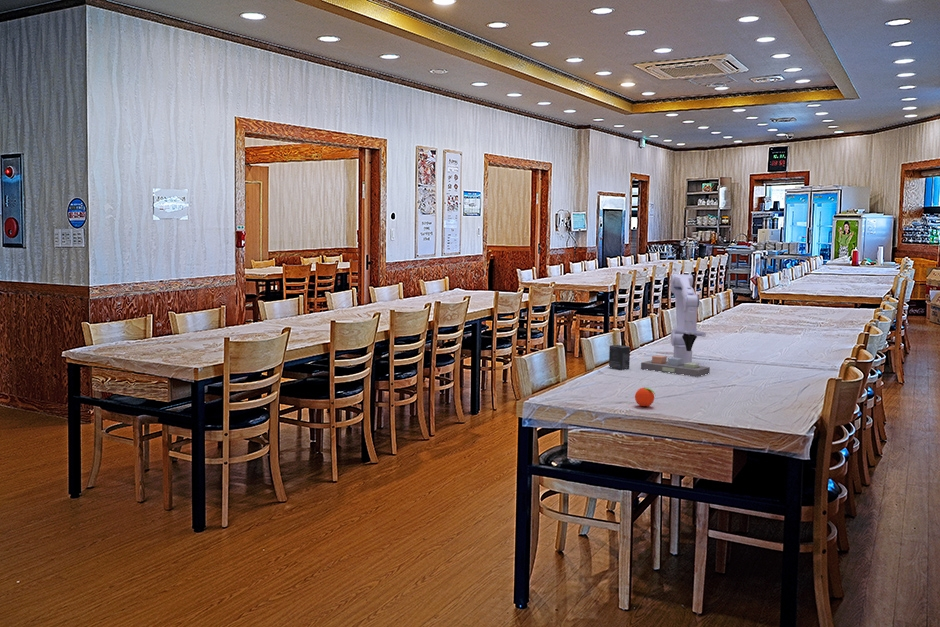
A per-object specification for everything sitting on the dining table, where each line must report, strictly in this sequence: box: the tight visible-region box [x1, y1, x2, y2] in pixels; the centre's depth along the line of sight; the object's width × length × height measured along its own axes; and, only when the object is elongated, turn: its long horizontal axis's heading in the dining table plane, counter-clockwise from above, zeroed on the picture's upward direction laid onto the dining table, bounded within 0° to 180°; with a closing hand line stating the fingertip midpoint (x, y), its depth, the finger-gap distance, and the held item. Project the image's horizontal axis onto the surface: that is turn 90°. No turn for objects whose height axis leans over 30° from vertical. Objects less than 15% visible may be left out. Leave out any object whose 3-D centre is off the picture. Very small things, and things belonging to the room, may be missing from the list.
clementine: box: [634, 387, 656, 407], centre depth 300 cm, size 8×7×7 cm
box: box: [608, 344, 631, 371], centre depth 382 cm, size 8×6×11 cm
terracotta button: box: [651, 354, 668, 364], centre depth 382 cm, size 5×5×4 cm
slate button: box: [667, 356, 683, 366], centre depth 377 cm, size 5×5×4 cm
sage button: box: [684, 362, 700, 369], centre depth 372 cm, size 5×5×4 cm
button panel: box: [640, 359, 711, 377], centre depth 377 cm, size 12×28×3 cm, turn 49°
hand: (688, 350), depth 378 cm, fingers closed
